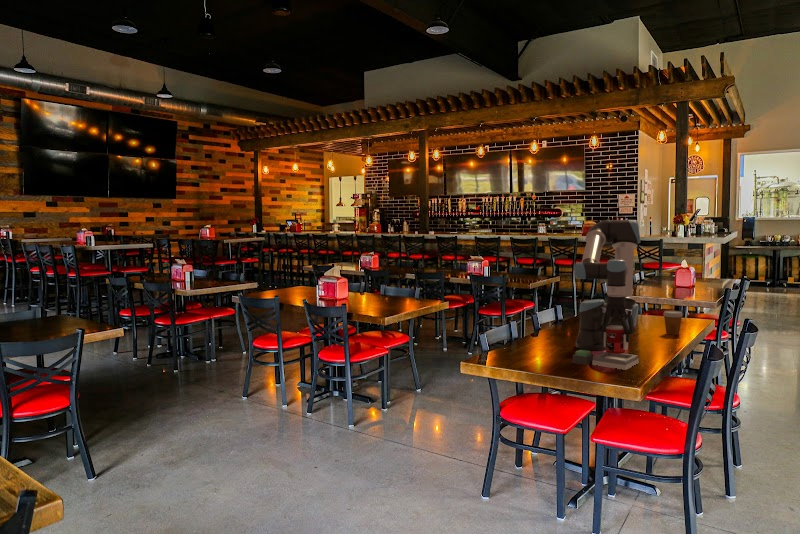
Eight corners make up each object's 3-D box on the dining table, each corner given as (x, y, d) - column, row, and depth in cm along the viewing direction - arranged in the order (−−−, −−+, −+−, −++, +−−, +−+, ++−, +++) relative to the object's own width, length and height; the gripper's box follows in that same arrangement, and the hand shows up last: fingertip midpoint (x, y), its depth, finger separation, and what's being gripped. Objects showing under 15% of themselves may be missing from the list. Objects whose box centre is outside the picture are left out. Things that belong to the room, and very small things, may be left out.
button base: (579, 359, 258) (579, 352, 258) (594, 362, 253) (594, 354, 253) (571, 362, 253) (571, 355, 252) (587, 365, 248) (587, 357, 248)
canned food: (603, 350, 253) (603, 325, 252) (621, 349, 252) (622, 325, 251) (609, 354, 245) (609, 328, 244) (628, 353, 245) (628, 328, 244)
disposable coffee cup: (686, 334, 308) (686, 312, 308) (676, 336, 303) (676, 314, 302) (669, 331, 316) (669, 310, 315) (659, 333, 311) (659, 311, 310)
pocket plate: (606, 358, 259) (606, 350, 259) (638, 363, 250) (638, 355, 249) (592, 364, 249) (592, 356, 248) (625, 370, 239) (625, 361, 239)
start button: (580, 356, 256) (580, 349, 256) (590, 357, 253) (590, 351, 253) (575, 358, 253) (575, 351, 252) (585, 360, 249) (585, 353, 249)
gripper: (589, 294, 251) (588, 346, 253) (637, 298, 237) (636, 352, 239) (596, 293, 257) (596, 343, 258) (644, 296, 242) (643, 349, 244)
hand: (615, 347), depth 248 cm, fingers closed on canned food, 8 cm apart
